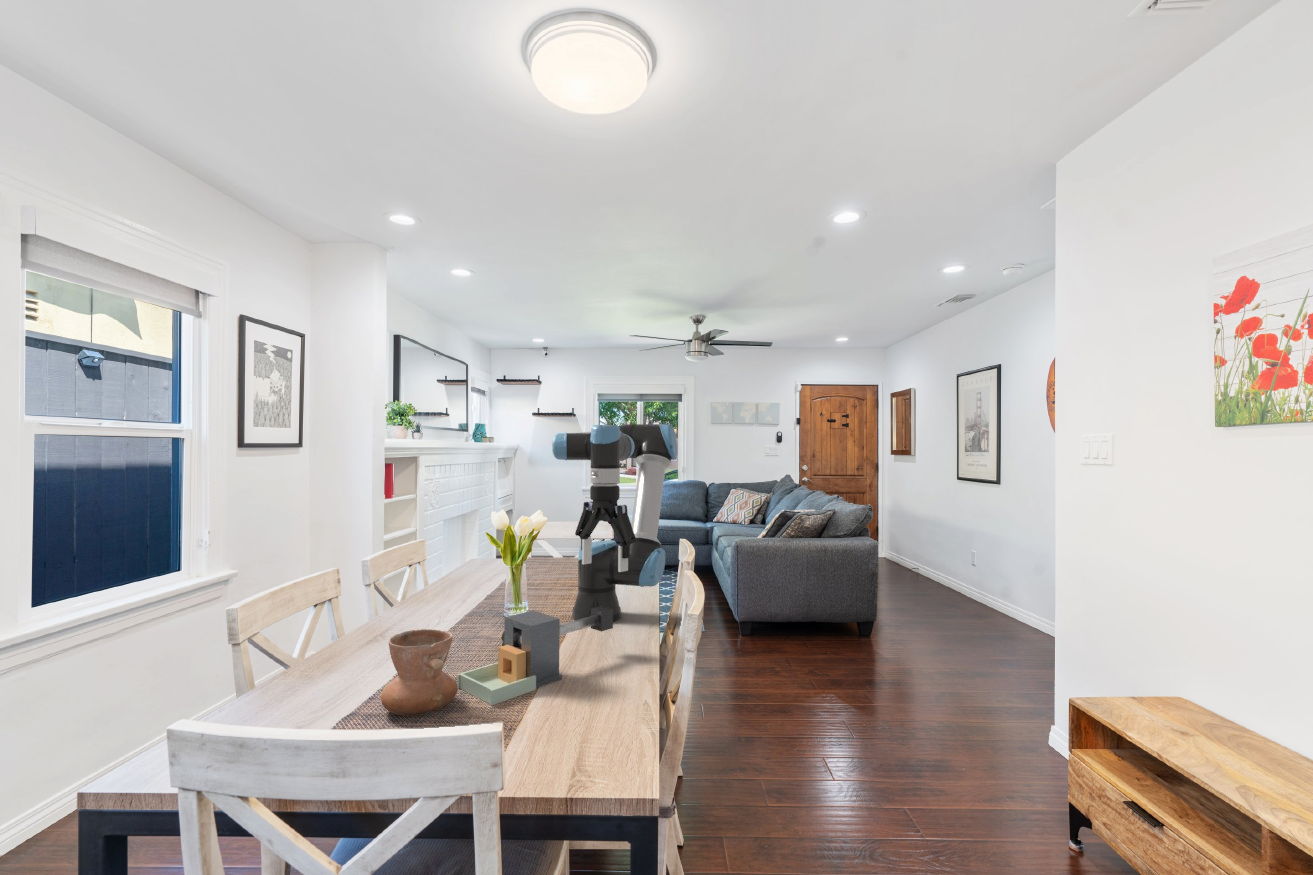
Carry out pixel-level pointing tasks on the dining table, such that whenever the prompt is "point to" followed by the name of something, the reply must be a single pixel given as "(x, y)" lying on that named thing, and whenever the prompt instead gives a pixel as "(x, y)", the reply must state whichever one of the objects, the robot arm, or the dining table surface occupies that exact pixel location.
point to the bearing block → (536, 644)
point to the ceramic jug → (419, 673)
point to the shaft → (588, 622)
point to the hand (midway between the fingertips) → (604, 567)
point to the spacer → (511, 664)
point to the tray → (493, 684)
